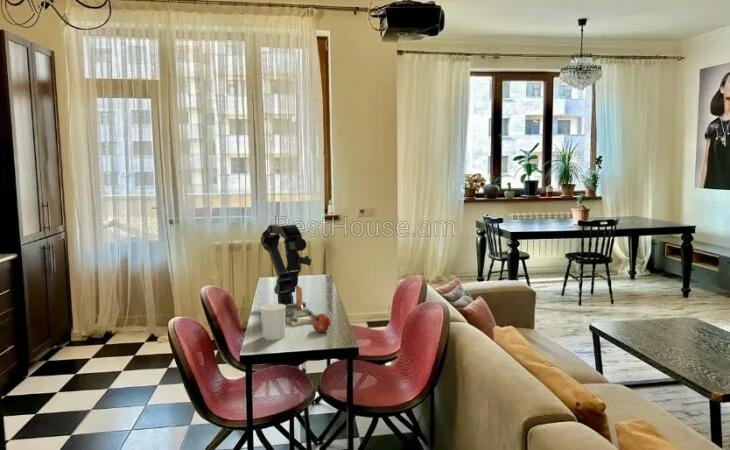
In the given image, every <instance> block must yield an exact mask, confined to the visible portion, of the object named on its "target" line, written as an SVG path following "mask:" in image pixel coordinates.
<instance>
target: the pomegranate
mask: <svg viewBox="0 0 730 450" xmlns="http://www.w3.org/2000/svg"><path fill="white" fill-rule="evenodd" d="M316 315H317V316H316V317H314V319H313V323H311V324H312V328H313V329H314V331H316V332H318V333H326V332H327V331H328V330H329V327H330V326H331V319H330V318H329V317H328V316H327V315H326V314H325V313H318V314H316Z"/></svg>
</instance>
